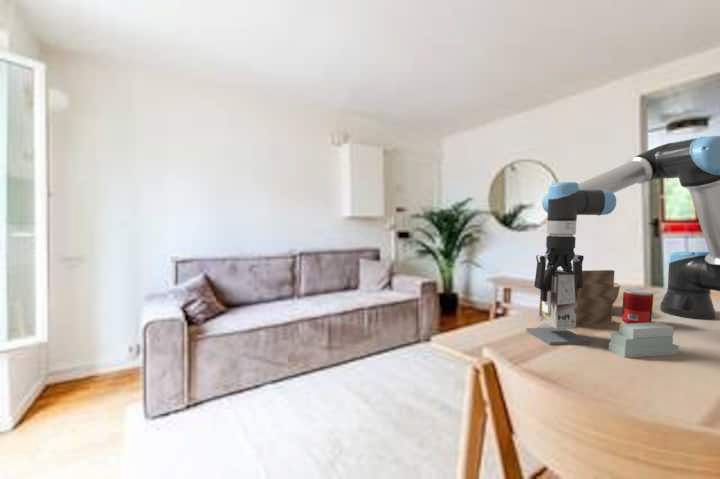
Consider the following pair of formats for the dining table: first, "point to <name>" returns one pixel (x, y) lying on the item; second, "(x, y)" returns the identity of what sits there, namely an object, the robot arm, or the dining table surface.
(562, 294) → the coffee box
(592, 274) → the upright wooden block
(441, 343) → the dining table surface
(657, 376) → the dining table surface
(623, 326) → the offcut stack
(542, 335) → the mat
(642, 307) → the canned food
